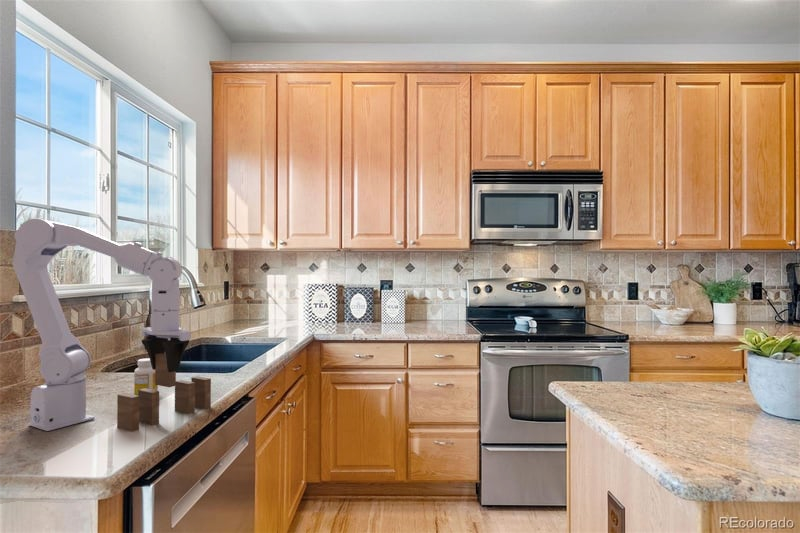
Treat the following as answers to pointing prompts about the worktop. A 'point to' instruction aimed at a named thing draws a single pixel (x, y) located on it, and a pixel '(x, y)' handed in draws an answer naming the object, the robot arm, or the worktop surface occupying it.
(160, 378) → the domino
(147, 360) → the supplement bottle
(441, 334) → the worktop surface
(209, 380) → the domino
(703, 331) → the worktop surface
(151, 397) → the domino
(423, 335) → the worktop surface
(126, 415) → the domino
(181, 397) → the domino
